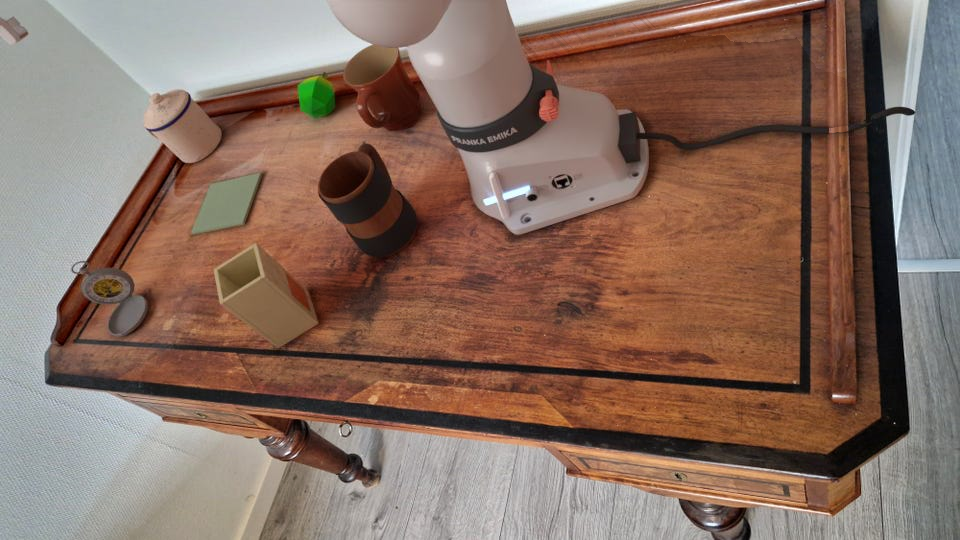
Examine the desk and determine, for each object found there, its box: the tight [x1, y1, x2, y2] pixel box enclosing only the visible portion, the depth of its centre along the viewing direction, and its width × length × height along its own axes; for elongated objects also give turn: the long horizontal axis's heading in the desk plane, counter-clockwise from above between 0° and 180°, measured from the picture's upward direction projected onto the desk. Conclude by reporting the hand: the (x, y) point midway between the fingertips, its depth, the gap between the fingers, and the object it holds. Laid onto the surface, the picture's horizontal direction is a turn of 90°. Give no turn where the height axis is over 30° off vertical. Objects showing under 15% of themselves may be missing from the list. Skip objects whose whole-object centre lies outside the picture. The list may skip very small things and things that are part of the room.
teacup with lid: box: [142, 89, 223, 164], centre depth 111 cm, size 12×9×12 cm
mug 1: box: [342, 44, 424, 132], centre depth 93 cm, size 12×9×10 cm
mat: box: [190, 172, 263, 235], centre depth 102 cm, size 10×10×1 cm
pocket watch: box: [70, 260, 149, 337], centre depth 92 cm, size 8×8×10 cm
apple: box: [297, 71, 336, 119], centre depth 105 cm, size 7×6×9 cm
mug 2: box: [317, 142, 419, 258], centre depth 82 cm, size 9×12×12 cm
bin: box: [213, 242, 319, 349], centre depth 79 cm, size 6×6×11 cm
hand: (59, 15), depth 64 cm, fingers open, 8 cm apart
